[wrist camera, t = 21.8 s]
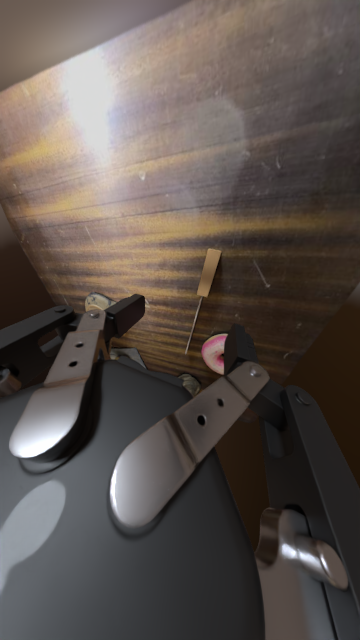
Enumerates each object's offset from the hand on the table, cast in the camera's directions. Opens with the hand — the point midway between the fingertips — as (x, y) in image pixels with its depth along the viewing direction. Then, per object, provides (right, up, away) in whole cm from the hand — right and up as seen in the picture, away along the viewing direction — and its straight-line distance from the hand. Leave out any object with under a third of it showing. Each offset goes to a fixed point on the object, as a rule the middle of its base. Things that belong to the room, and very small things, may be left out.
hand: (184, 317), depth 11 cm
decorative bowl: (-26, +3, +33) cm, 43 cm away
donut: (+13, -8, +26) cm, 30 cm away
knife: (+4, +2, +22) cm, 23 cm away
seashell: (+2, -25, +40) cm, 47 cm away
